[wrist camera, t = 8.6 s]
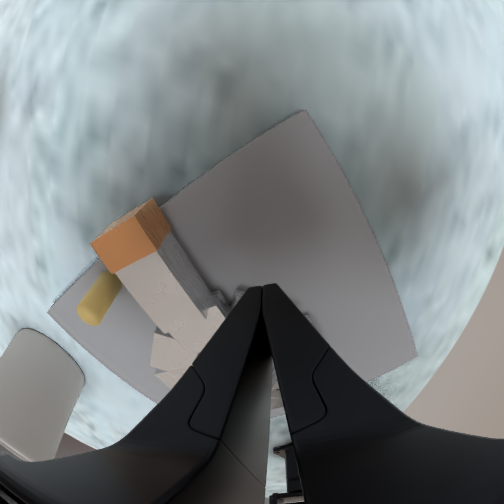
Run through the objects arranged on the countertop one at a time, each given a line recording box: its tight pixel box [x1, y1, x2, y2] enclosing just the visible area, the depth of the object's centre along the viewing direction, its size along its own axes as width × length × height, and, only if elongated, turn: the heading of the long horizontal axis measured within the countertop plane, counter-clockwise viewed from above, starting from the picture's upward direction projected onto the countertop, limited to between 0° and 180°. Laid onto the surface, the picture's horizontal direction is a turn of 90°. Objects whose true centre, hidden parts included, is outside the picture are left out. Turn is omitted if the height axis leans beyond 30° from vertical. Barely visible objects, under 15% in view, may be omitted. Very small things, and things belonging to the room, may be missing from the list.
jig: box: [47, 110, 418, 418], centre depth 15 cm, size 18×20×4 cm
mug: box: [0, 329, 85, 462], centre depth 16 cm, size 12×8×11 cm
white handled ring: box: [90, 198, 314, 410], centre depth 14 cm, size 10×15×2 cm, turn 26°
